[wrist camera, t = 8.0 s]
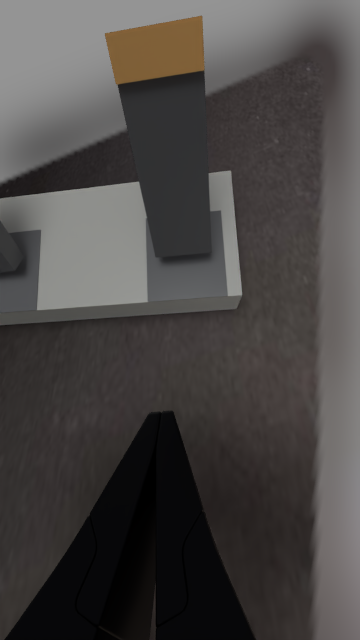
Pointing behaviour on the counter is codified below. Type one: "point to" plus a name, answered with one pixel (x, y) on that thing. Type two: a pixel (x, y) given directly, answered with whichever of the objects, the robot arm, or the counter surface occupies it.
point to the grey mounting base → (112, 258)
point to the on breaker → (8, 251)
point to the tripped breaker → (167, 129)
